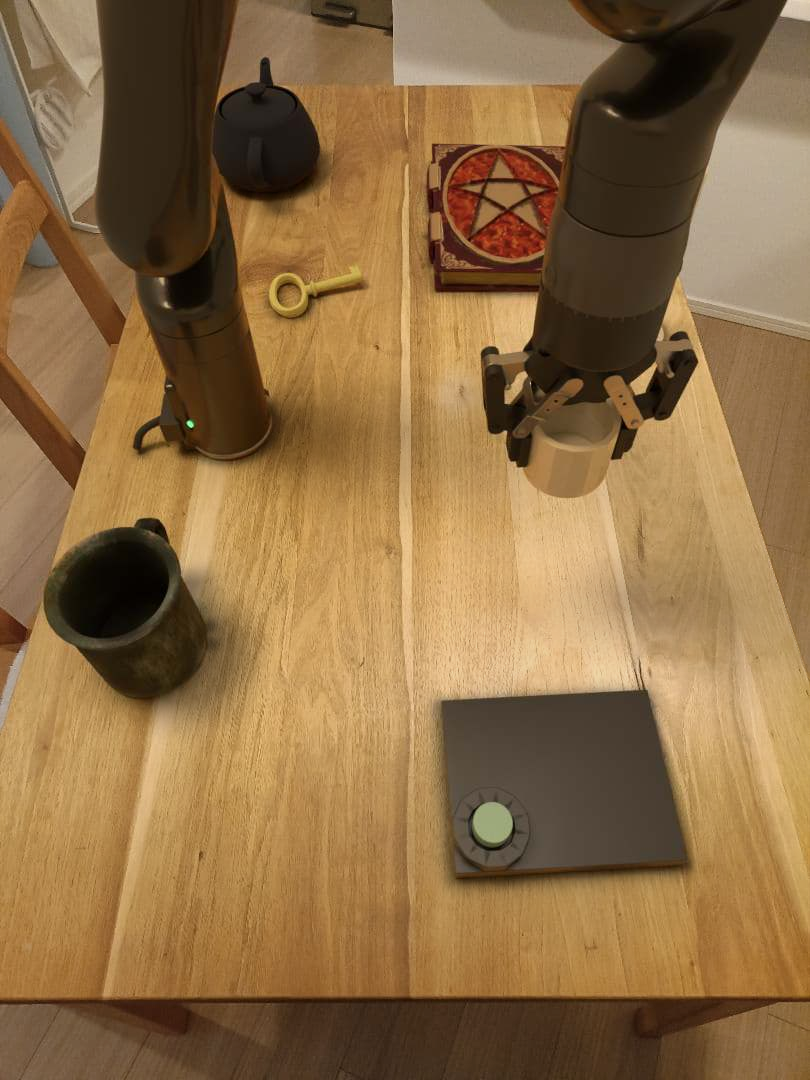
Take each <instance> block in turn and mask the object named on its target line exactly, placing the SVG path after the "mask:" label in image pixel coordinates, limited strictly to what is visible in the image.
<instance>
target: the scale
mask: <svg viewBox="0 0 810 1080" xmlns="http://www.w3.org/2000/svg"><path fill="white" fill-rule="evenodd" d="M440 718H441V728H442V730H441V731H442V741H443V755H444V766H445V779H446V790H447V791H446V792H447V793H446V794H447V806H448V816H449V818H448V819H449V829H450V842H451V855H452V866H453V867H452V868H453V878H454V879H462V878H478V877H479V878H480V877H495V876H496V877H498V876H511V875H512V876H513V875H515V876H516V875H529V874H531V875H532V874H549V873H550V874H551V873H564V872H565V873H566V872H583V871H600V870H601V871H602V870H603V871H604V870H617V869H618V870H619V869H621V870H622V869H635V868H651V867H653V868H654V867H670V866H671V867H672V866H681V865H683V864H685V863H686V862H688V856H687V852H686V848H685V844H684V840H683V835H682V830H681V827H680V826H681V825H680V823H679V818H678V813H677V810H676V806H675V802H674V801H675V800H674V797H673V793H672V788H671V784H670V780H669V775H668V771H667V767H666V763H665V759H664V755H663V751H662V746H661V741H660V738H659V737H660V736H659V734H658V730H657V729H658V728H657V725H656V720H655V716H654V712H653V707H652V704H651V699H650V694H649V691H648V689H633V690H632V689H631V690H616V691H615V690H613V691H600V692H599V691H598V692H597V691H596V692H595V691H594V692H579V693H578V692H576V693H557V694H538V695H521V696H520V695H519V696H503V697H483V698H482V697H481V698H463V699H446V700H445V699H443V700H441V702H440ZM488 802H496V803H499V804H501V805H503V806H504V807H506V808H507V809H508V811H509V812H510V814H511V816H512V820H513V828H512V831H511V833H510V836H509V838H508V839H507V841H506V842H505V843H504V844H502V845H501V846H499V847H494V848H491V847H486V846H484V845H482V844H481V843H479V842H478V841H477V840H476V838H475V836H474V834H473V831H472V821H473V817H474V814H475V812H476V810H477V809H478V808H479V807H480V806H481V805H483V804H485V803H488Z"/></svg>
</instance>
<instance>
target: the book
mask: <svg viewBox="0 0 810 1080" xmlns="http://www.w3.org/2000/svg"><path fill="white" fill-rule="evenodd" d="M564 149H565V145H563V146H562V145H525V144H523V145H520V144H519V145H518V144H477V143H475V144H473V143H472V144H471V143H431V160H430V165H428V166H427V170H426V171H427V172H426V201H427V209H428V211H430V212H431V214H429V218H428V221H427V248H428V249H427V250H428V256H429V257H428V258H429V262H430V263H431V264H433V283H434V285H433V287H434V291H513V292H514V291H518V292H519V291H523V292H524V291H525V292H526V291H527V292H528V291H529V292H532V291H533V292H539V286H540V279H541V272H542V265H543V258H544V251H545V245H546V238H547V232H548V227H549V222H550V218H551V215H552V212H553V209H554V206H555V202H556V198H557V194H558V189H559V182H560V175H561V168H562V162H563V155H564Z"/></svg>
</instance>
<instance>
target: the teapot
mask: <svg viewBox="0 0 810 1080" xmlns="http://www.w3.org/2000/svg"><path fill="white" fill-rule="evenodd" d="M320 152H321V145H320V138H319V134H318V131H317V129H316V127H315V124H314V121H313V120H312V118H311V116H310V115H309V112H308V111H307V109H306V108H305V105H304V104H303V102H302V100H301V99H300V98H299V97H298V95H297V94H296V93H295V92H293V91H292V90H291V89H288V88H286V87H284V86H280V85H276V84H274V81H273V76H272V70H271V61H270V59H269V57H267V56H264V57H262V58H261V59H260V62H259V81H253V82H250V83H247V84H246V85H245V86H241V87H238V88H236V89H233V90H231V91H229V92H228V93H226V94H225V95H223V97H222V98H220V100H219V101H218V102H217V104H216V108H215V116H214V124H213V137H212V154H213V155H214V158H215V160H216V162H217V165H218V168H219V171H220V175H221V177H223V178H224V180H226V181H228V182H229V183H231V184H232V185H234V186H237V187H238V188H240V189H242V190H244V191H247V192H251V193H258V194H270V193H278V192H282V191H285V190H288V189H291V188H293V187H295V186H297V185H298V184H300V183H301V182H302V181H303V180H304V179H305V178H306V177H307V176H309V174H310V173H311V172H312V171H313V170H314V168H315V167H316V165H317V164H318V161H319V157H320Z"/></svg>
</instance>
